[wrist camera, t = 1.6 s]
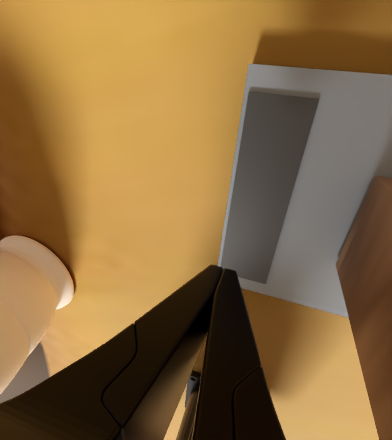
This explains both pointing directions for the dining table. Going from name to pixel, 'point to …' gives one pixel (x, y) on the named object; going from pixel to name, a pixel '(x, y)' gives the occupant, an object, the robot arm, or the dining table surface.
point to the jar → (27, 299)
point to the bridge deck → (303, 178)
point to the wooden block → (372, 297)
